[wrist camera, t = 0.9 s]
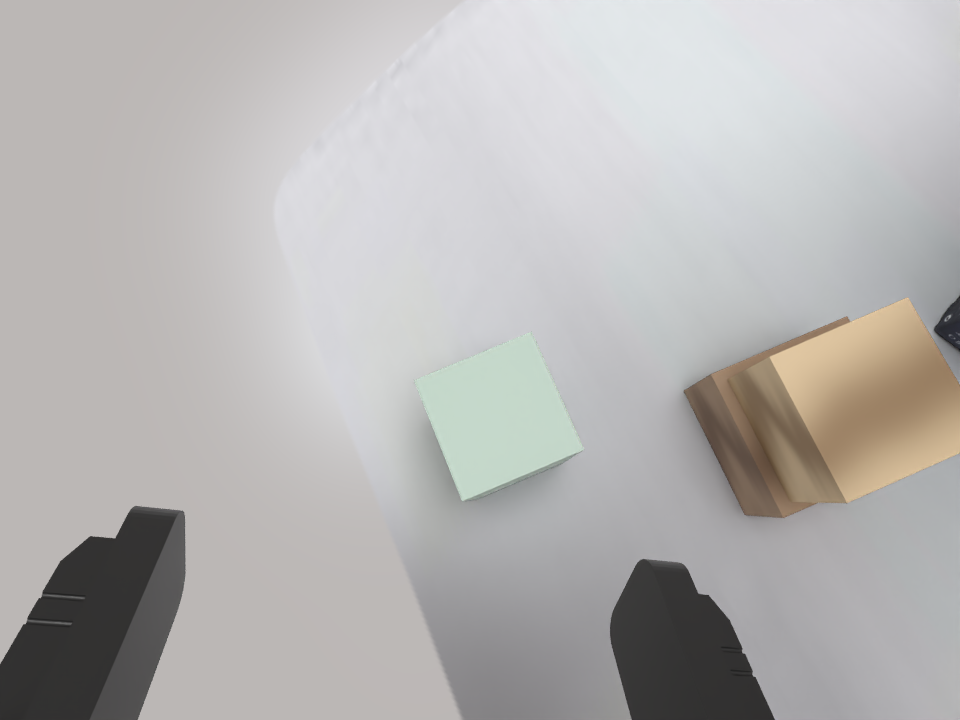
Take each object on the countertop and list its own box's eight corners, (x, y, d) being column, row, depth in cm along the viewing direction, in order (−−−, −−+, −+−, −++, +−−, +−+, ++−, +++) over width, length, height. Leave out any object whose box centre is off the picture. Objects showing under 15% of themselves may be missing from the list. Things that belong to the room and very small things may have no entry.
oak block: (727, 379, 30) (769, 356, 25) (843, 329, 31) (907, 297, 26) (790, 502, 29) (847, 503, 24) (911, 448, 29) (991, 439, 25)
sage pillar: (440, 412, 36) (414, 380, 26) (525, 376, 36) (531, 331, 26) (475, 500, 35) (462, 501, 25) (562, 463, 35) (584, 449, 25)
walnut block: (683, 391, 35) (710, 374, 30) (800, 341, 36) (847, 316, 31) (744, 514, 34) (783, 517, 29) (866, 461, 34) (925, 455, 29)
